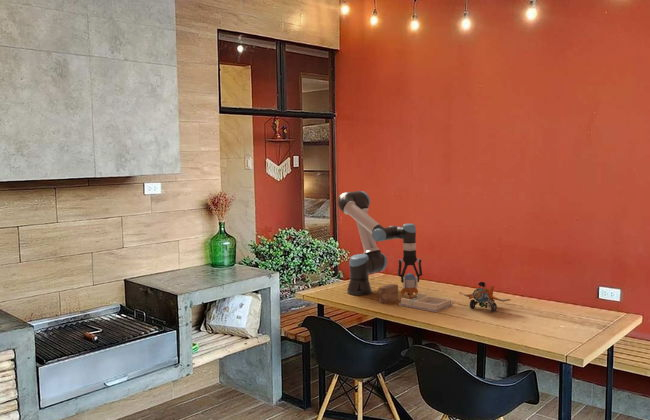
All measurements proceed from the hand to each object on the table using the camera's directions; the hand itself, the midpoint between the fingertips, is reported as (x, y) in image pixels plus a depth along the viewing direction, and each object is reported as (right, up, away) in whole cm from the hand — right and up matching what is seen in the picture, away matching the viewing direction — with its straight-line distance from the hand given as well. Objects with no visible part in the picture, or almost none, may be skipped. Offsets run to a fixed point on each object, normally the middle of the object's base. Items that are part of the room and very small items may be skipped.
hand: (410, 287), depth 350 cm
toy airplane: (+36, -8, -30) cm, 48 cm away
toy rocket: (0, -6, +1) cm, 6 cm away
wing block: (-14, -7, -8) cm, 18 cm away
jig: (+6, -7, -20) cm, 22 cm away
